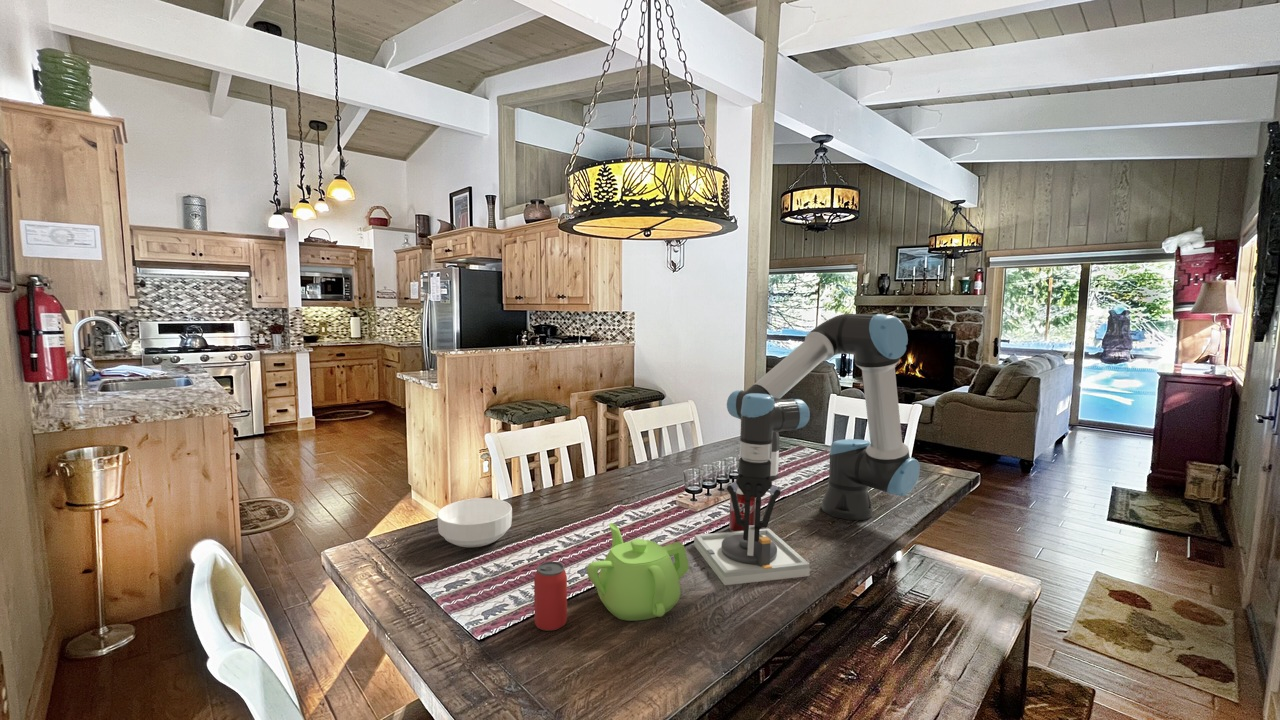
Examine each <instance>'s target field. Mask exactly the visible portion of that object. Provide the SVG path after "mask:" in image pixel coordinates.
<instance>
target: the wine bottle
mask: <svg viewBox="0 0 1280 720" xmlns="http://www.w3.org/2000/svg"><path fill="white" fill-rule="evenodd" d="M779 433H780V432H773V435H772V453H771V458H770V459H769V460H770V461H771V472H770V479H771V481H773V480H776V479H778V477H779V463H780V462H779V459H780V458H779V457H780V434H779Z"/></svg>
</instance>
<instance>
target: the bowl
mask: <svg viewBox="0 0 1280 720" xmlns="http://www.w3.org/2000/svg"><path fill="white" fill-rule="evenodd" d="M436 516H437V529H438V533H439V535H440V536H441V537H443V538H444V539H445V541H447V542H448V543H450V544H452V545H455V546H458V547H460V548H461V547H462V548H480V547H483V546H484V547H485V546H488V545H491V544H492V543H495V542H497V541H498V540H499V539H501V538H502V537H503V536H504V535H505V534H506V533H507V532H508V530H509V529H511V526H512V520H513V508H512V504H510V503H509V502H507V501H506V500H502V499H498V498H491V497H479V498H478V497H475V498H467V499H462V500H458V501H454V502H451V503H449V504H446V505H444V506H443V507H441V508H440V509H439V510H438V512H437V515H436Z"/></svg>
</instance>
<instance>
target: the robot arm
mask: <svg viewBox="0 0 1280 720" xmlns="http://www.w3.org/2000/svg"><path fill="white" fill-rule="evenodd" d="M908 341H909V338H908V333H907V329H906V326H905V324H904V323H903V321H901V320H900V319H899V318H898V317H897V316H894V315H889V314H887V315H886V314H883V313H878V314H876V313H875V314H874V313H873V314H871V313H844V314H843V313H842V314H839V315H836V316H833V317H831V318H829V319H828V320H825V321H823V322H822V323H820V324H819V325H817V326H816V327H815V328H813V329H812V330H811V331H810V332H808V333H807V334H806V335H805V337H804V341H803V342H802V343H800V344H799V345H798V346H797V347H796V348H795V349H794V350H792V351H791V352H790V353H789V354H788V355H786V356H785V357H784V358H783V359H781V361H779V362H778V363H777V364H776V365H775V366H774V367H772V368H771V369H770V370H769V371H768V372H766V373H765V374H764V375H763V376H762V377H760V378H759V379H758V380H757V381H756V382H755V383H753V384H752V385H751V386H750V387H749V388H747V390H744V389H743V390H734V391H732V392H731V393H730V394H729V396H728V398H727V400H726V409H727V411H728V413H729V415H731V417H733V418H736V419H738V420H740V432H739V433H740V437H739V457H740V458H739V459H738V473H737V477H736V479H735V481H734V482H733V481H732V483H730V482H729V483H727V485H726V490H727V492H728V493H729V494H730V495H731V499H732V504H733V508H734V513H735V518H736V523H737V525H741V526H743V528H744V534H743V539H744V540H746V541H748V551H747V555H749V556H753V551H754V541H755V542H758V541H759V530H760V529H767V527H768V525H769V522H770V519H771V515H772V513H773V510H774V506H775V503H776V500H777V499H778V497H780V495H781V488H780V487H778V486H777V487H776V485H774V484H773V480H771V479H770V472H771V461H770V460H769V459H770V458H771V453H772V435H773V432H778V433H780V432H785V431H796V430H799V429H802V428H804V427H806V425H807V424H808V423H809V421H810V416H811V414H810V412H811V411H810V408H809V405H807V403H806V402H805V401H804V400H803V399H800V398H788V399H785V398H783V396H785V394H787V393H788V392H789V391H790V390H791V389H793V388H794V387H795V386H796V385H797V384H799V382H800V381H801V380H803V379H804V378H805V377H806V376H807V375H808V374H810V373H811V372H812V371H813V370H814V369H815V368H816V367H817V366H819V364H821V363H823V361H829V360H831V359H832V358H833V357H834V356H836V355H841V354H847V355H853V356H854V363H855V364H854V365H855V366H856V367H858V368H859V369H860V370H861V374H862V383H863V392H864V399H865V407H866V415H867V416H866V417H867V424H868V433H869V434H868V435H869V440H867V439H856V438H851V439H848V438H847V439H846V438H845V439H837V440H835V441H833V442H832V443H831V444H830V450H829V451H830V452H829V468H828V471H829V472H828V486H827V488H826V491H825V493H824V496H823V498H822V501H821V510H822V511H823V512H824V513H826V514H827V515H829V516H832V517H834V518H838V519H842V520H848V521H849V520H850V521H861V520H862V521H863V520H867V519H870V518H871V517H873V505H872V502H871V498H870V495H869V491H868V490H869V489H868V488H872V489H875V490H878V491H881V492H885V493H887V494H888V495H893V496H894V495H895V496H899V497H903V496H906V495H908V494H910V493H911V491H912V490H913V489H914V488H915V486H916V484H917V483H918V480H919V477H920V471H921V469H920V468H921V466H920V463H919V461H918V460H917V459H915V457H912V456H911V457H910V449H909V447H908V445H907V444H905V443H904V442H903V438H902V437H903V435H902V426H901V418H900V408H899V407H900V406H899V396H898V388H897V387H898V386H897V376H896V368H895V367H896V366H897V364H899V362H900V361H901V357H902V356H904V354H905V353H906V351H907V345H908V344H909V343H908ZM737 487H739V488H740V490H741V491H742V493H743V494H744V495H745V512H744V519H742V518H741V513H740V508H739V503H738V498H737V493H736V491H737ZM768 491H769V494H770V496H769V498H768V501H767V505H766V509H765V512H764V514H763V517H762V520H761V510H762V509H761V508H762V497H764V496H765V495H766V493H768ZM750 497H755V498H756V506H755V526H753V525H749V515H750Z"/></svg>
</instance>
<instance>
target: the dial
mask: <svg viewBox="0 0 1280 720" xmlns="http://www.w3.org/2000/svg"><path fill="white" fill-rule="evenodd" d="M721 550H722V553H723V554H724V555H725V556H726V557H728V558H730V559H732V560H734V561H737V562H741V563H747V564H758V565H759V566H760V567H762V565H770V561H772V560H774V559H775V558H776V556H777V547H776V545H775V544H774V543H773V542H772V541H771V540H770V539H769V538H768V537H763V536H762V535H760V534H759V541H758V542H755V541H754V551H753V556H749V555H747V551H748V541H746V540H744V539H743V535H733V536H729V537H727V538H725V539H724V540H723V541H722V549H721Z"/></svg>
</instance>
